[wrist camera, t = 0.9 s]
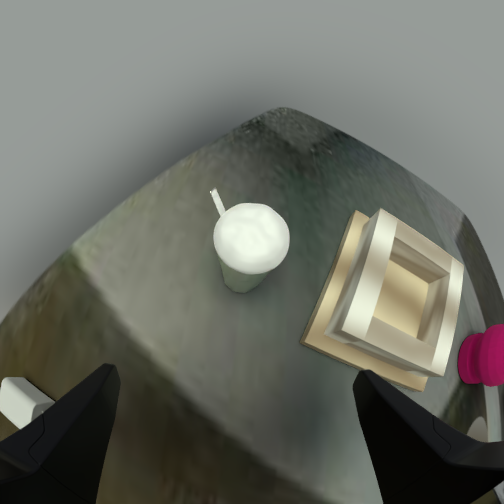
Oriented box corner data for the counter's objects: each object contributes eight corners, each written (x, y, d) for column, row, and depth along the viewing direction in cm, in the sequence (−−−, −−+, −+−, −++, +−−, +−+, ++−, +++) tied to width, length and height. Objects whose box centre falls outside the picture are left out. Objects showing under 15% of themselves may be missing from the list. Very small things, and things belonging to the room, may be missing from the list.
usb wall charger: (26, 377, 17) (2, 377, 13) (78, 414, 17) (56, 421, 13) (21, 408, 16) (-3, 411, 12) (71, 446, 16) (50, 456, 12)
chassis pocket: (413, 391, 21) (446, 392, 16) (299, 342, 22) (319, 339, 17) (442, 274, 26) (471, 260, 22) (349, 216, 27) (371, 191, 23)
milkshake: (230, 235, 25) (239, 165, 16) (277, 272, 24) (313, 219, 15) (197, 271, 23) (184, 216, 14) (245, 311, 23) (264, 280, 13)
